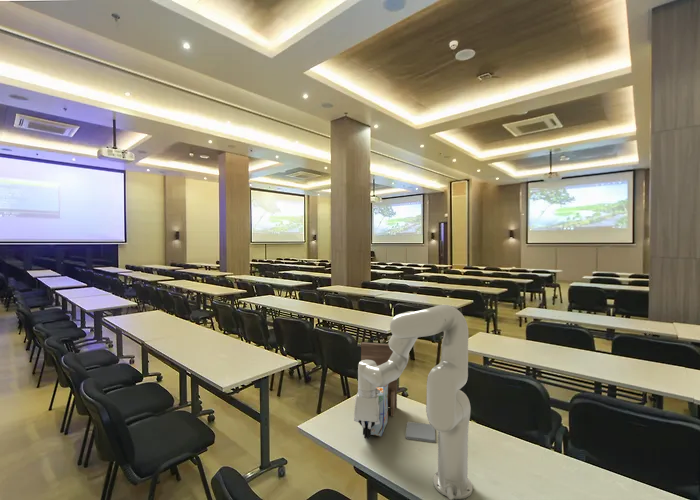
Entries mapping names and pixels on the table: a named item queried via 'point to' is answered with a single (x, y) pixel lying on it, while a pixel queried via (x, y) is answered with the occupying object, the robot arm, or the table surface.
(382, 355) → the display stand
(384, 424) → the lunch box
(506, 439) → the table surface
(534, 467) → the table surface
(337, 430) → the table surface
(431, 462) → the table surface
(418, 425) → the notebook
